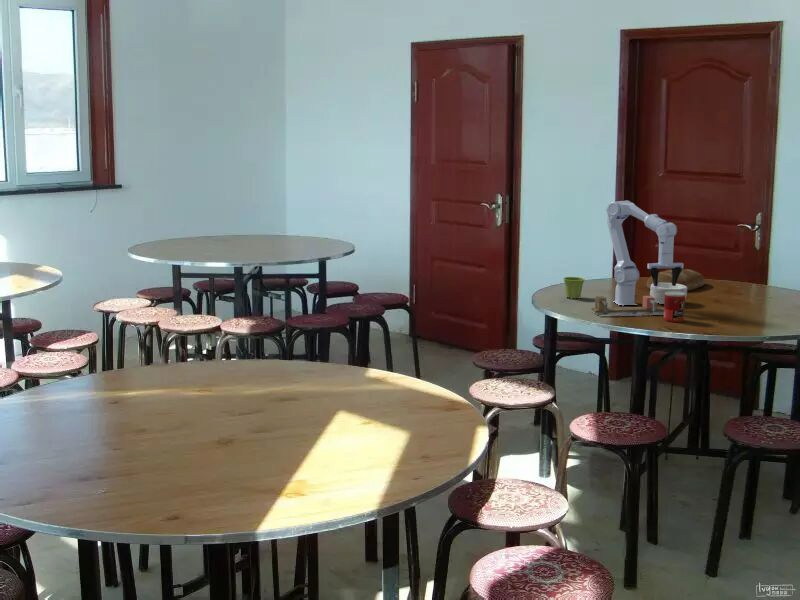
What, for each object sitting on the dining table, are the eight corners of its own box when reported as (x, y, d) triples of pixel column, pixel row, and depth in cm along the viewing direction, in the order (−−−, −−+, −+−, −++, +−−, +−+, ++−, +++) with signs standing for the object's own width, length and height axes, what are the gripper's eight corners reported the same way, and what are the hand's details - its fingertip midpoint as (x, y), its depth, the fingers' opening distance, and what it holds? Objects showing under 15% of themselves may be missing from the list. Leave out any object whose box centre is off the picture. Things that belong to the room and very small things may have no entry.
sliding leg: (642, 306, 410) (643, 295, 409) (649, 306, 410) (650, 295, 409) (650, 311, 400) (651, 300, 399) (658, 311, 400) (658, 300, 400)
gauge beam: (591, 311, 408) (592, 295, 407) (662, 310, 411) (662, 294, 410) (598, 316, 398) (599, 300, 397) (670, 315, 401) (671, 299, 400)
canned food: (674, 323, 385) (676, 295, 383) (659, 319, 392) (660, 292, 390) (688, 321, 389) (689, 293, 387) (672, 317, 396) (673, 290, 394)
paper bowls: (690, 306, 419) (691, 288, 417) (654, 306, 418) (655, 288, 417) (680, 300, 434) (681, 282, 432) (645, 300, 433) (646, 282, 432)
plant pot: (582, 296, 442) (583, 276, 441) (585, 300, 433) (586, 280, 431) (561, 296, 443) (561, 276, 441) (564, 299, 433) (564, 280, 432)
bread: (715, 285, 473) (716, 267, 471) (678, 295, 446) (679, 277, 444) (672, 280, 487) (673, 263, 485) (634, 289, 460) (635, 272, 458)
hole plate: (595, 314, 403) (595, 312, 402) (666, 312, 406) (667, 310, 405) (599, 317, 397) (599, 315, 396) (672, 315, 400) (672, 313, 400)
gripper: (652, 254, 399) (650, 287, 401) (687, 253, 401) (685, 286, 403) (646, 252, 406) (644, 285, 408) (680, 251, 407) (679, 284, 410)
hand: (664, 285), depth 406 cm, fingers open, 7 cm apart
